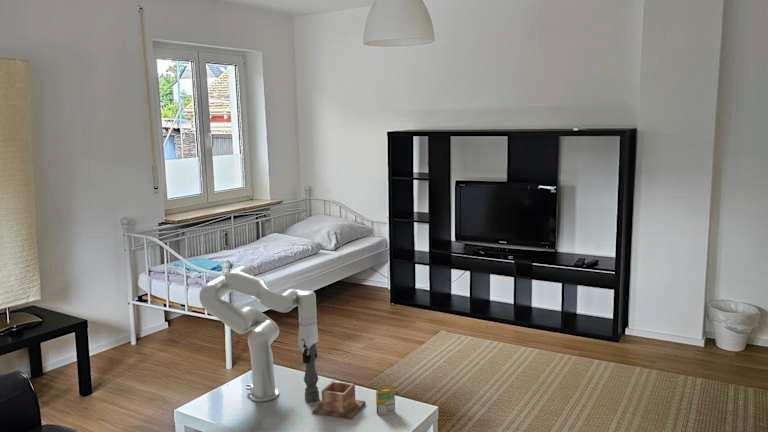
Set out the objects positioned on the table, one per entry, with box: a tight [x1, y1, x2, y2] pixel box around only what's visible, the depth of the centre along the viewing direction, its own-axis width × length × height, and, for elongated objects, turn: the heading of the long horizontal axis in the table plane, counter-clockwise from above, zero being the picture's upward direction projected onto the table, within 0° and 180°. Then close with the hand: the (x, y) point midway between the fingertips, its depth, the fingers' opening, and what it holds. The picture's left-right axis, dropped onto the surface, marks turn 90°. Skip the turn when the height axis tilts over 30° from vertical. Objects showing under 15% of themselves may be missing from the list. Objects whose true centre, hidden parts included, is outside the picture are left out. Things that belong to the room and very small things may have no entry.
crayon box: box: [375, 386, 396, 416], centre depth 259 cm, size 7×3×12 cm, turn 106°
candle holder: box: [303, 343, 320, 404], centre depth 272 cm, size 6×6×25 cm
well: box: [311, 380, 366, 420], centre depth 264 cm, size 18×14×10 cm
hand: (310, 360), depth 271 cm, fingers closed on candle holder, 5 cm apart
